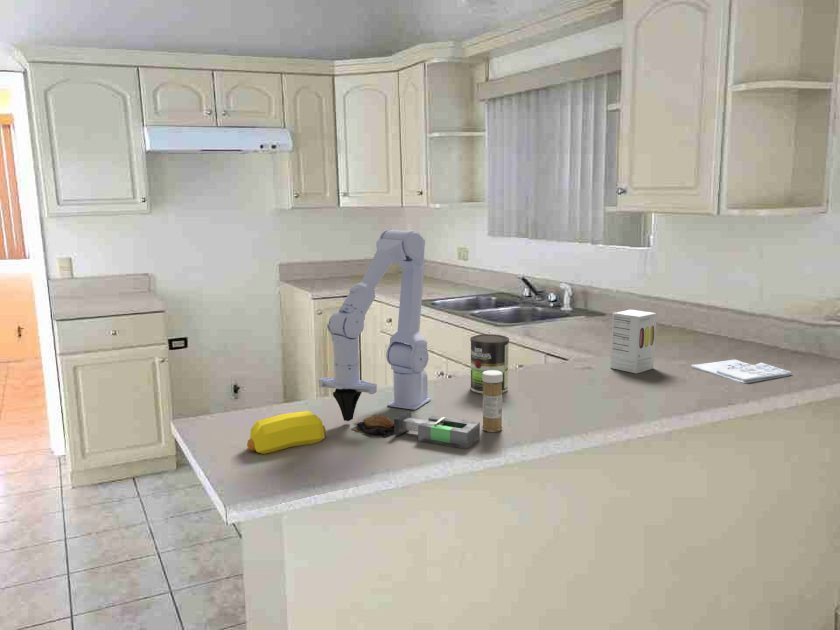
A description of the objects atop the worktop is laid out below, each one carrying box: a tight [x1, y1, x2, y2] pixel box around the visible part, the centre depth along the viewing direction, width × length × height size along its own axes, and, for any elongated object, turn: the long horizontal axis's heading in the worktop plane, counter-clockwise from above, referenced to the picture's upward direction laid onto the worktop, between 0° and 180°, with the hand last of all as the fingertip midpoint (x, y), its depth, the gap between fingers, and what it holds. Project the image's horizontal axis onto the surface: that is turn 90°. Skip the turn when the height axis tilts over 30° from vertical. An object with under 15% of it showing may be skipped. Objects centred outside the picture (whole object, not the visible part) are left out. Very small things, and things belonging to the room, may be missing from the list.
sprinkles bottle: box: [481, 370, 503, 433], centre depth 165 cm, size 5×5×13 cm
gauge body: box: [417, 415, 481, 450], centre depth 159 cm, size 7×12×4 cm, turn 64°
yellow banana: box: [246, 410, 327, 455], centre depth 158 cm, size 18×7×8 cm
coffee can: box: [469, 333, 510, 395], centre depth 196 cm, size 10×10×14 cm
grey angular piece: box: [393, 410, 446, 437], centre depth 162 cm, size 6×10×4 cm, turn 64°
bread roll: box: [350, 414, 395, 439], centre depth 166 cm, size 11×8×4 cm
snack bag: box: [690, 359, 793, 385], centre depth 212 cm, size 19×20×2 cm
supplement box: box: [609, 309, 657, 375], centre depth 215 cm, size 10×9×17 cm
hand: (348, 419), depth 171 cm, fingers closed
